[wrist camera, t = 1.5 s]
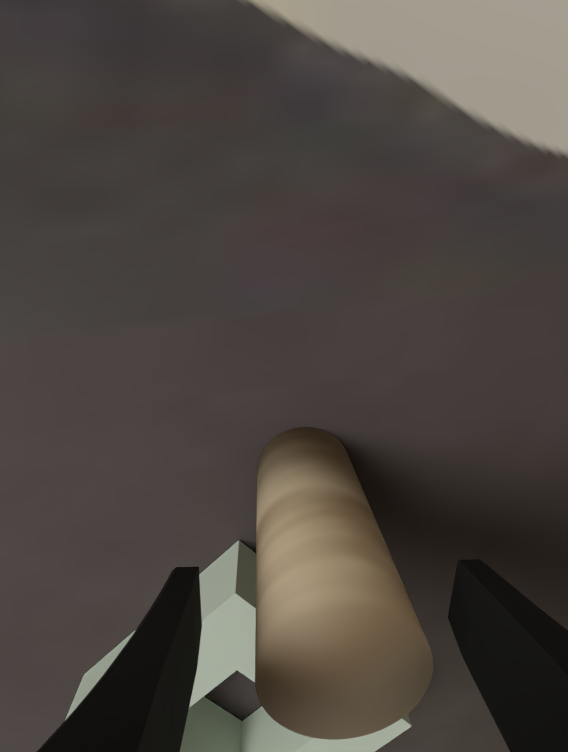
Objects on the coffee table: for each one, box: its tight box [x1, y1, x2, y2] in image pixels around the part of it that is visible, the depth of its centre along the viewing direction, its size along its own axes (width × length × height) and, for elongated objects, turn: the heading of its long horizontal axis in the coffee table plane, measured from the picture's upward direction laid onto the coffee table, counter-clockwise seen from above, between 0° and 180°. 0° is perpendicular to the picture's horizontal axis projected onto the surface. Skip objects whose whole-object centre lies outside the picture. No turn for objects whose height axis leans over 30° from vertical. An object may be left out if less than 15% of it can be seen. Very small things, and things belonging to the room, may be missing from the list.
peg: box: [255, 427, 433, 740], centre depth 13 cm, size 4×4×9 cm
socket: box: [66, 540, 412, 752], centre depth 19 cm, size 11×11×3 cm
